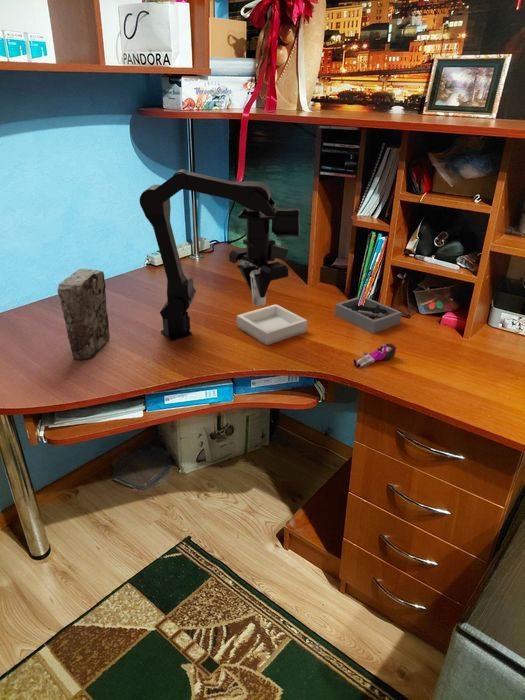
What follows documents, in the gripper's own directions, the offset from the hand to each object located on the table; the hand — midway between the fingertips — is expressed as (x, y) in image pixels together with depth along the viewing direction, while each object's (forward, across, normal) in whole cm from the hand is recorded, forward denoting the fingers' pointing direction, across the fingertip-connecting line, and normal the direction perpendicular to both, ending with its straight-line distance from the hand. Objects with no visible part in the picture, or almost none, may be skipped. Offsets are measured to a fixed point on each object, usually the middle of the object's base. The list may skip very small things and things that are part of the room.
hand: (257, 294), depth 139 cm
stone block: (+12, +19, +39) cm, 45 cm away
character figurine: (+13, -27, -17) cm, 34 cm away
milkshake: (+3, 0, 0) cm, 3 cm away
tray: (+13, +2, -6) cm, 14 cm away
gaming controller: (+12, -8, -33) cm, 37 cm away
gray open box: (+13, -8, -34) cm, 37 cm away
